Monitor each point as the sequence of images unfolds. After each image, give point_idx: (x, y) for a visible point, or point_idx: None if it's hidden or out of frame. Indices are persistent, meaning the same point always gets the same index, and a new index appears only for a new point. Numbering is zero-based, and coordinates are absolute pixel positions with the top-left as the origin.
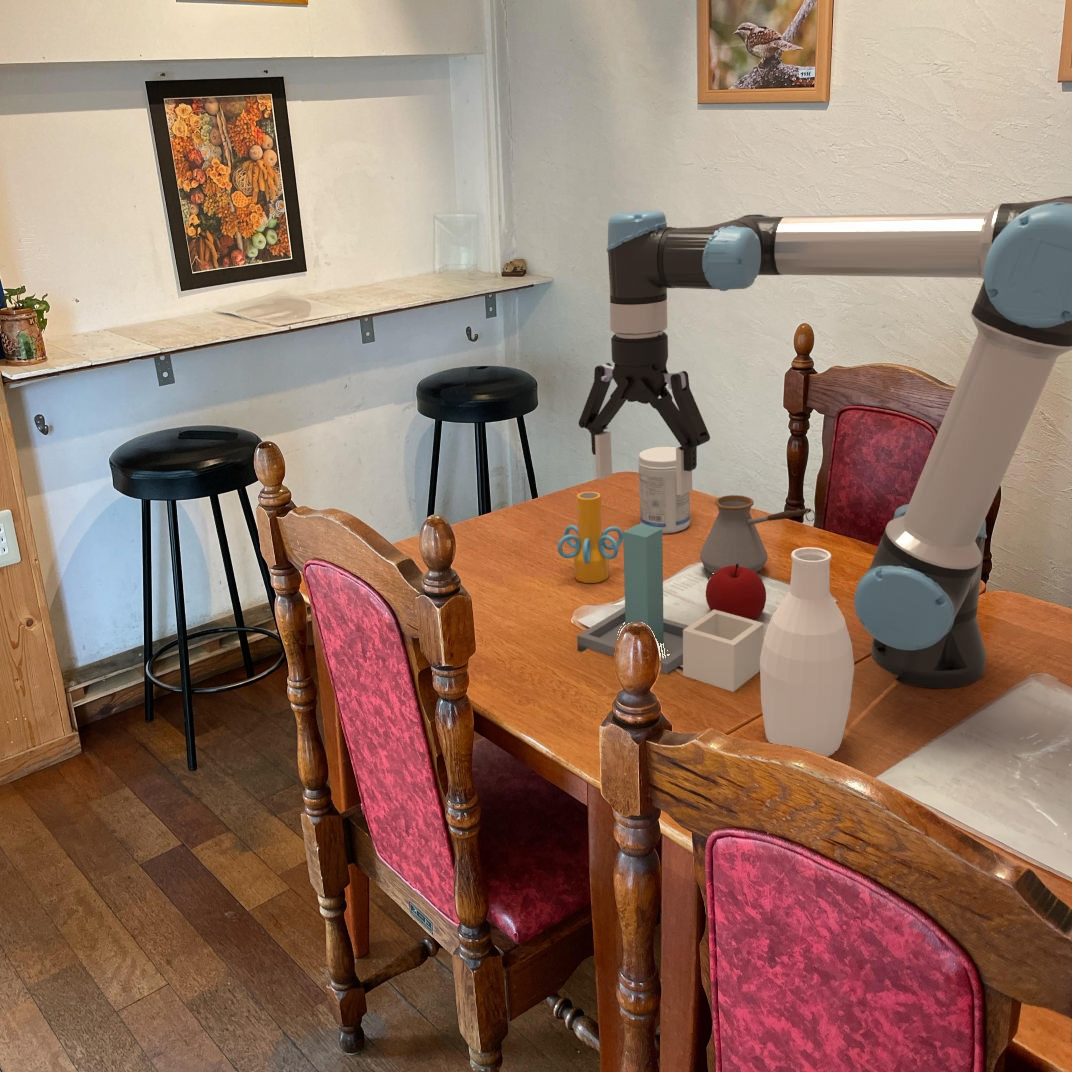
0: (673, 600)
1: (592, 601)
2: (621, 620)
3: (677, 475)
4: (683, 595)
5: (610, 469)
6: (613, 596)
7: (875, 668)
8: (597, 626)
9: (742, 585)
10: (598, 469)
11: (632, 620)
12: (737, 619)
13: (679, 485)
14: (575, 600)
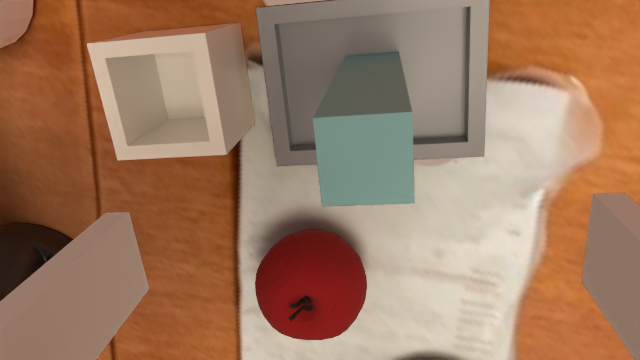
0: (452, 262)
1: (591, 177)
2: (466, 121)
3: (70, 262)
4: (448, 286)
5: (597, 291)
6: (564, 217)
7: (73, 239)
8: (477, 50)
9: (271, 281)
10: (635, 219)
11: (380, 61)
12: (161, 143)
13: (89, 235)
14: (628, 160)
